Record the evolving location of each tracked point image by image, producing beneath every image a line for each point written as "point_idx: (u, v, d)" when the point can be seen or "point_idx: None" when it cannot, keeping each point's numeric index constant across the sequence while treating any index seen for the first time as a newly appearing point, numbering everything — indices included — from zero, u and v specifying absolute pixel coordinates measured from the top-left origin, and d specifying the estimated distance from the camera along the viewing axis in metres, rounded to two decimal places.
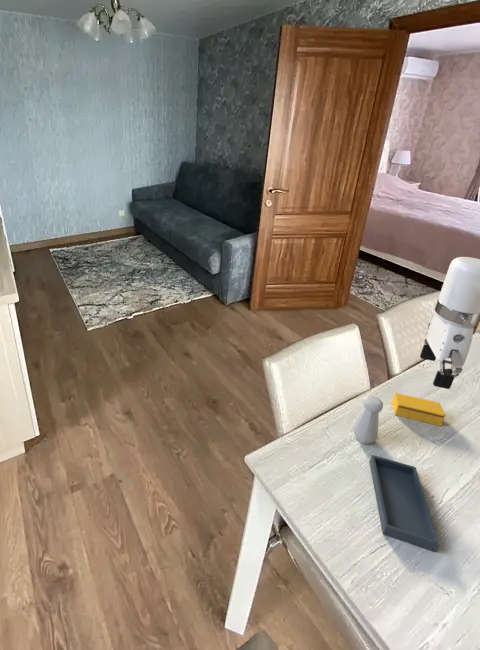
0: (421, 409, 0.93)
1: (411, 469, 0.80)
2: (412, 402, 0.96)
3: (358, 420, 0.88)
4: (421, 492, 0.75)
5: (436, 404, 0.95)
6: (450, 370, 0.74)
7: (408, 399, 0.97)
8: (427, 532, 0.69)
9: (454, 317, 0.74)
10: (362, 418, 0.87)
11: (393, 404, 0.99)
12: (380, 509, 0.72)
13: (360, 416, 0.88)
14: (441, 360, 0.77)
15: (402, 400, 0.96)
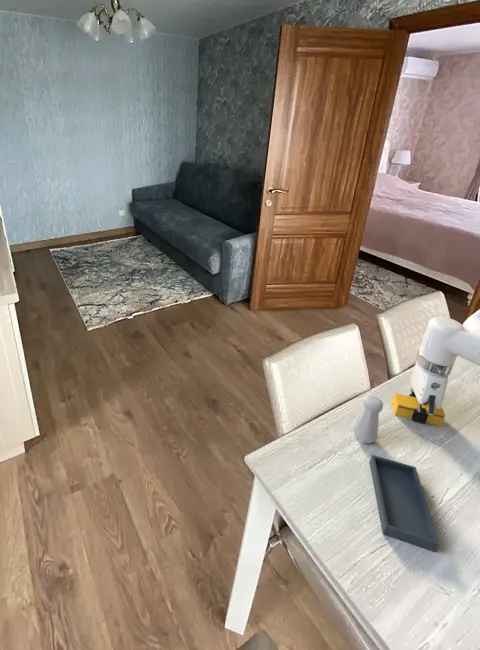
0: None
1: (411, 469, 0.80)
2: (412, 402, 0.96)
3: (358, 420, 0.88)
4: (421, 492, 0.75)
5: None
6: (424, 409, 0.90)
7: (408, 399, 0.97)
8: (427, 532, 0.69)
9: (431, 368, 0.87)
10: (362, 418, 0.87)
11: (393, 404, 0.99)
12: (380, 509, 0.72)
13: (360, 416, 0.88)
14: (421, 403, 0.90)
15: (402, 400, 0.96)
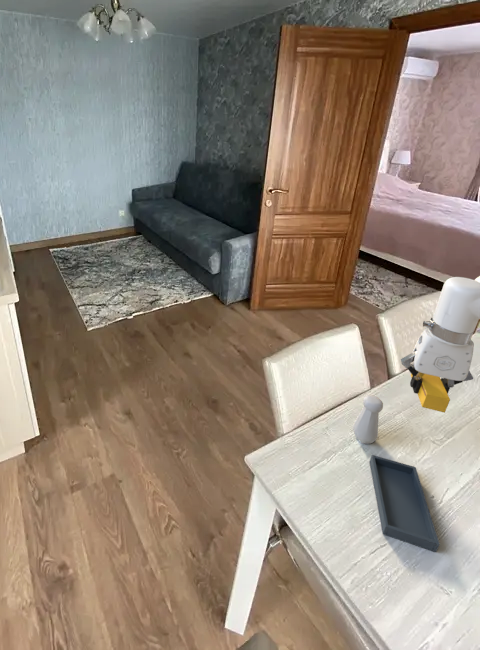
0: (421, 378, 0.84)
1: (411, 469, 0.80)
2: (428, 375, 0.84)
3: (358, 420, 0.88)
4: (421, 492, 0.75)
5: (442, 395, 0.79)
6: None
7: None
8: (427, 532, 0.69)
9: None
10: (362, 418, 0.87)
11: None
12: (380, 509, 0.72)
13: (360, 416, 0.88)
14: None
15: None
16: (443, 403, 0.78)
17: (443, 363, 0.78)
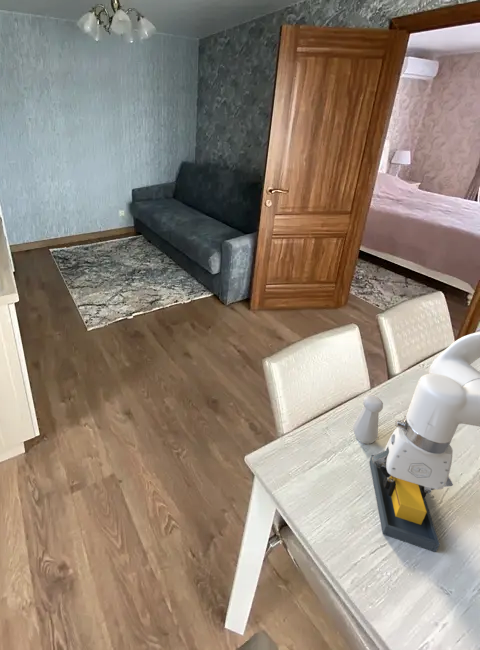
0: None
1: None
2: None
3: (358, 420, 0.88)
4: None
5: (418, 505, 0.68)
6: None
7: None
8: (427, 532, 0.69)
9: None
10: (362, 418, 0.87)
11: None
12: (380, 509, 0.72)
13: (360, 416, 0.88)
14: None
15: None
16: (419, 515, 0.68)
17: (419, 470, 0.67)
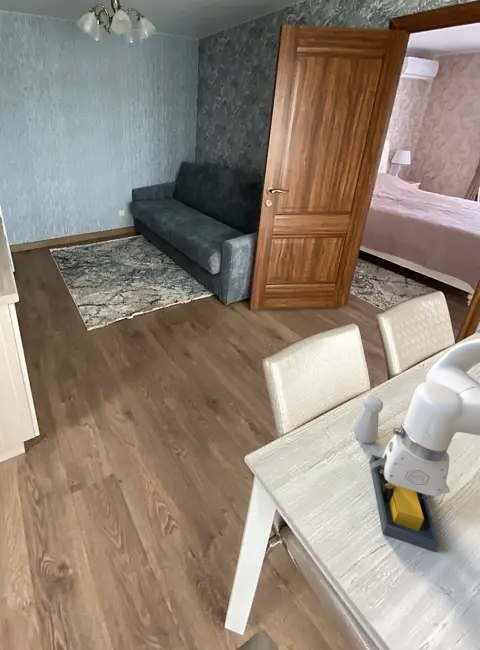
0: None
1: None
2: None
3: (358, 420, 0.88)
4: None
5: (416, 511, 0.69)
6: None
7: None
8: (427, 532, 0.69)
9: None
10: (362, 418, 0.87)
11: None
12: (380, 509, 0.72)
13: (360, 416, 0.88)
14: None
15: None
16: (416, 522, 0.69)
17: (416, 477, 0.68)
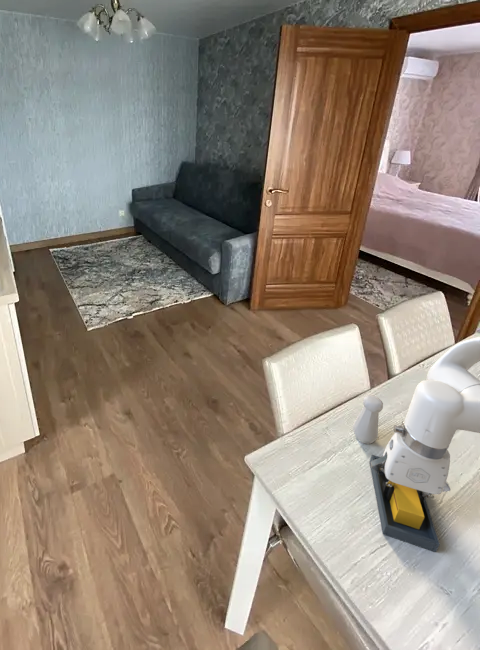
0: None
1: None
2: None
3: (358, 420, 0.88)
4: None
5: (416, 510, 0.69)
6: None
7: None
8: (427, 532, 0.69)
9: None
10: (362, 418, 0.87)
11: None
12: (380, 509, 0.72)
13: (360, 416, 0.88)
14: None
15: None
16: (417, 520, 0.69)
17: (417, 475, 0.68)
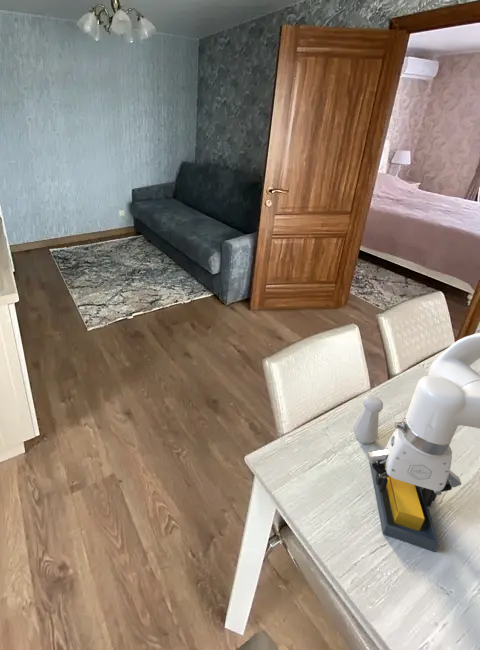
0: (393, 485, 0.74)
1: None
2: None
3: (358, 420, 0.88)
4: (421, 492, 0.75)
5: (416, 511, 0.69)
6: None
7: None
8: (427, 532, 0.69)
9: None
10: (362, 418, 0.87)
11: None
12: (380, 509, 0.72)
13: (360, 416, 0.88)
14: None
15: None
16: (417, 522, 0.69)
17: (418, 471, 0.68)
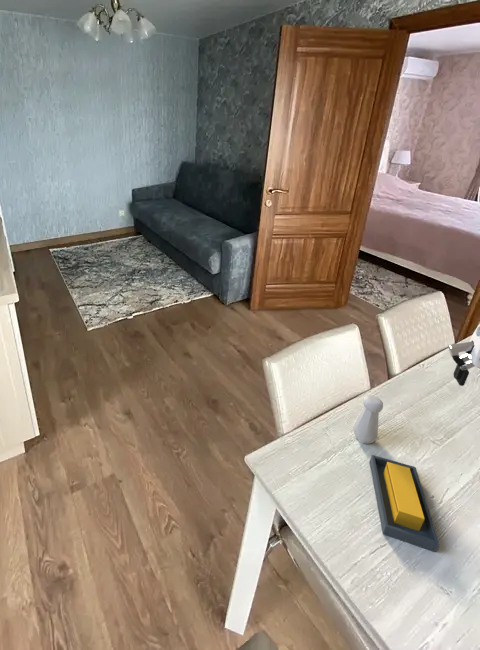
0: (393, 485, 0.74)
1: (411, 469, 0.80)
2: (401, 480, 0.75)
3: (358, 420, 0.88)
4: (421, 492, 0.75)
5: (416, 511, 0.69)
6: None
7: (405, 478, 0.76)
8: (427, 532, 0.69)
9: None
10: (362, 418, 0.87)
11: None
12: (380, 509, 0.72)
13: (360, 416, 0.88)
14: None
15: (398, 469, 0.77)
16: (417, 522, 0.69)
17: None
